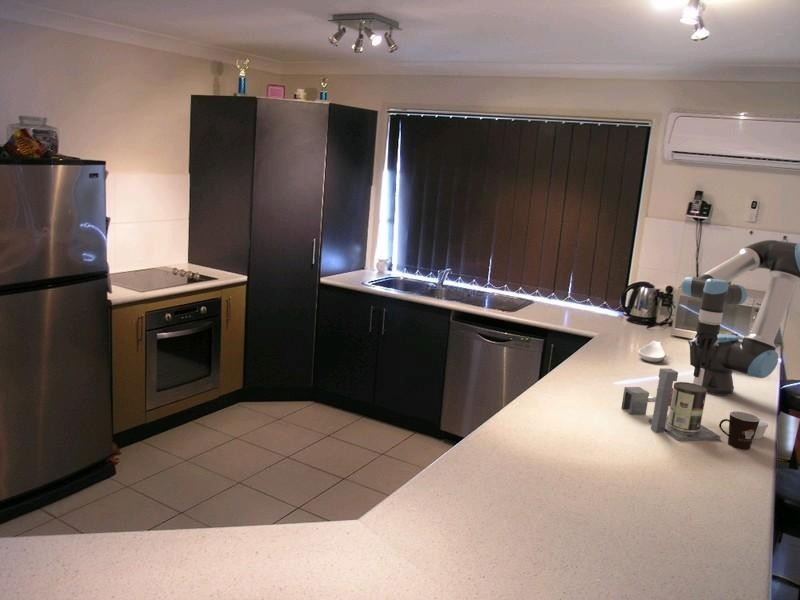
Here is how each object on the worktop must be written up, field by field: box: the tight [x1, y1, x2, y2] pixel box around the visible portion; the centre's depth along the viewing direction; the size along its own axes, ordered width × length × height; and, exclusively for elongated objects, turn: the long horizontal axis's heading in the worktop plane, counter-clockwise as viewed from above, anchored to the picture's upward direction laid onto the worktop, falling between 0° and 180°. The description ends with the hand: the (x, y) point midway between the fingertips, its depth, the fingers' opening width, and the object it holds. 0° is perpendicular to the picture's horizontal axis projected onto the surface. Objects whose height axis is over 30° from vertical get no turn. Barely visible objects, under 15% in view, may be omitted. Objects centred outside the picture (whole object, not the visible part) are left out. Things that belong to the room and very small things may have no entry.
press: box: [620, 367, 721, 442], centre depth 226 cm, size 20×28×21 cm
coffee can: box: [668, 381, 708, 432], centre depth 221 cm, size 10×10×14 cm
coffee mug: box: [718, 410, 761, 451], centre depth 213 cm, size 12×9×10 cm
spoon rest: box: [637, 340, 666, 363], centre depth 313 cm, size 24×12×7 cm, turn 151°
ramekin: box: [753, 417, 769, 440], centre depth 224 cm, size 11×11×5 cm
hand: (697, 385), depth 241 cm, fingers closed
